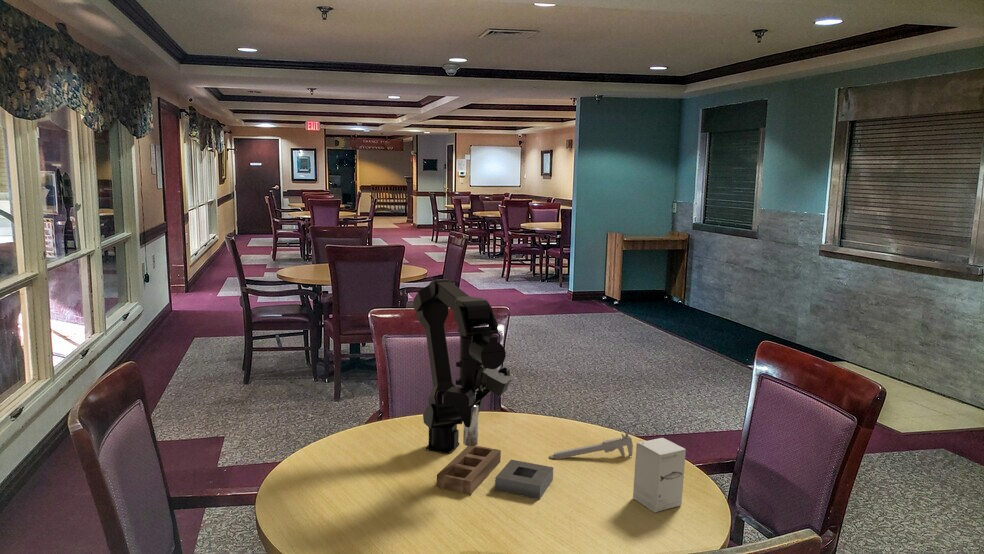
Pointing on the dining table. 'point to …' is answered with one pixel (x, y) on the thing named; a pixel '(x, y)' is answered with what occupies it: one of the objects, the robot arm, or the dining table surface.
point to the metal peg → (472, 429)
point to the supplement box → (659, 474)
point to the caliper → (599, 448)
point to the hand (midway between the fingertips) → (470, 424)
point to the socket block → (524, 479)
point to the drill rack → (468, 469)
